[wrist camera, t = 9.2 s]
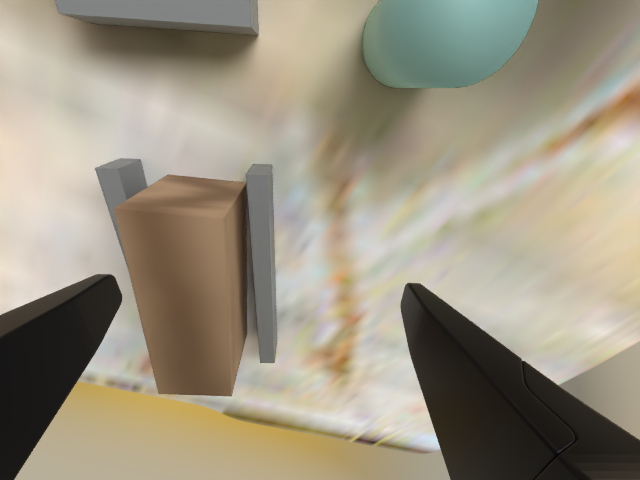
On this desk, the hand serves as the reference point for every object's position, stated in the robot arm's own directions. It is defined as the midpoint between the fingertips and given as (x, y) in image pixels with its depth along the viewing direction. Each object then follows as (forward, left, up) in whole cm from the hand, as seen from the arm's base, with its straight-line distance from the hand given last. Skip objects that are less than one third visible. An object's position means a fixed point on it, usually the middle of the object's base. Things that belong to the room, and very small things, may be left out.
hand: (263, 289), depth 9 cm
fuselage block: (+6, +7, -12) cm, 15 cm away
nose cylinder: (-6, -8, -11) cm, 15 cm away
